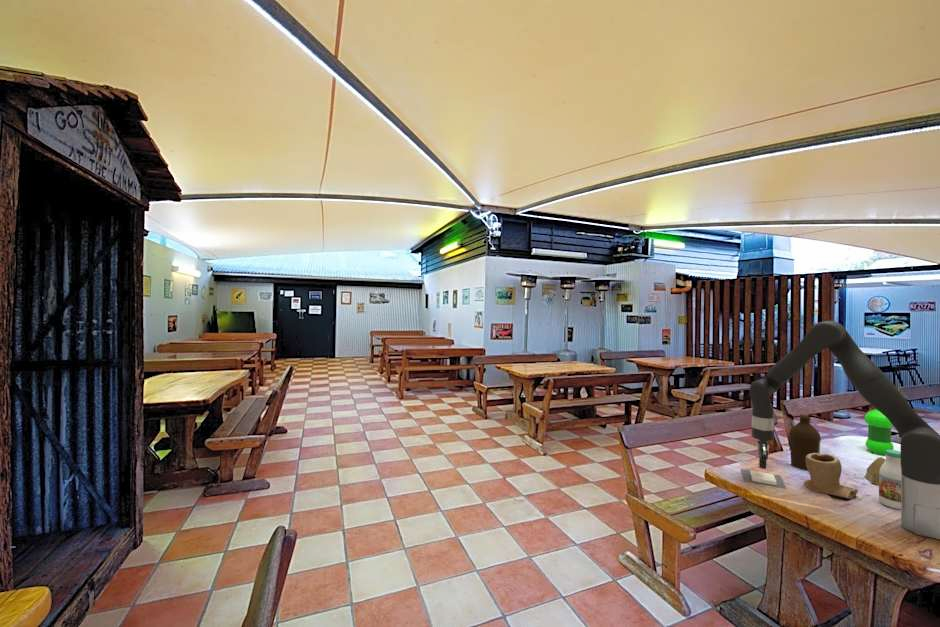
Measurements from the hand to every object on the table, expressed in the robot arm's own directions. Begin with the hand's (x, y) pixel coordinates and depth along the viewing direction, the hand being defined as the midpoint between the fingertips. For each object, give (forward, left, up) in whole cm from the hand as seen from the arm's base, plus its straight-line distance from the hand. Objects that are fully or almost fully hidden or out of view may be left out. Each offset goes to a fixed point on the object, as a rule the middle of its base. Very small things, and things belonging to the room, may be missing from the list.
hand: (762, 467), depth 161 cm
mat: (+1, 0, -6) cm, 6 cm away
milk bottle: (+1, -39, -6) cm, 40 cm away
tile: (+3, 0, -4) cm, 5 cm away
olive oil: (+25, -18, -6) cm, 31 cm away
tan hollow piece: (+1, -21, -6) cm, 22 cm away
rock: (+25, -40, -6) cm, 48 cm away
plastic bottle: (+68, -54, -6) cm, 87 cm away
